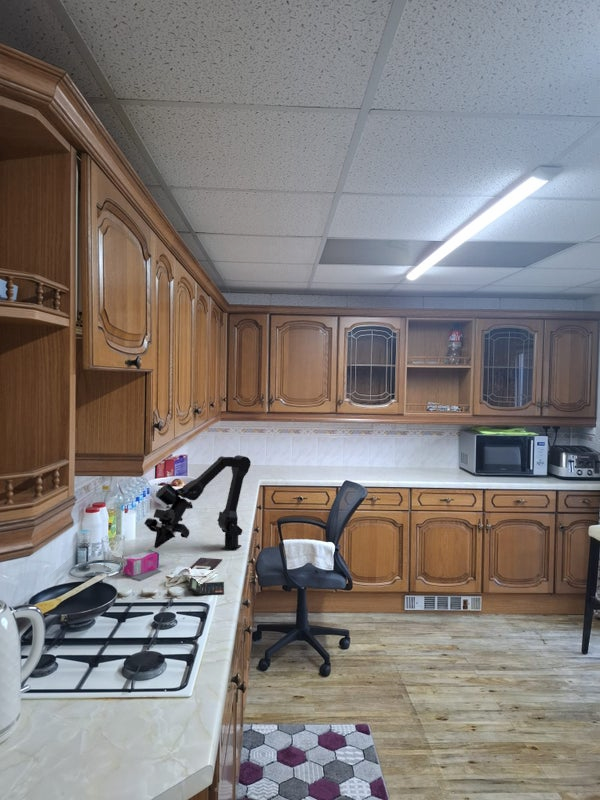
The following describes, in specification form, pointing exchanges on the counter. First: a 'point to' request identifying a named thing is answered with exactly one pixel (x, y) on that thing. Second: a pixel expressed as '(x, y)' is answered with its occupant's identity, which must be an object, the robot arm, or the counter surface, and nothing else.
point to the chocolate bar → (206, 563)
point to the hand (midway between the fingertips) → (155, 547)
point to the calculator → (206, 588)
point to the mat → (143, 575)
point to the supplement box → (140, 563)
